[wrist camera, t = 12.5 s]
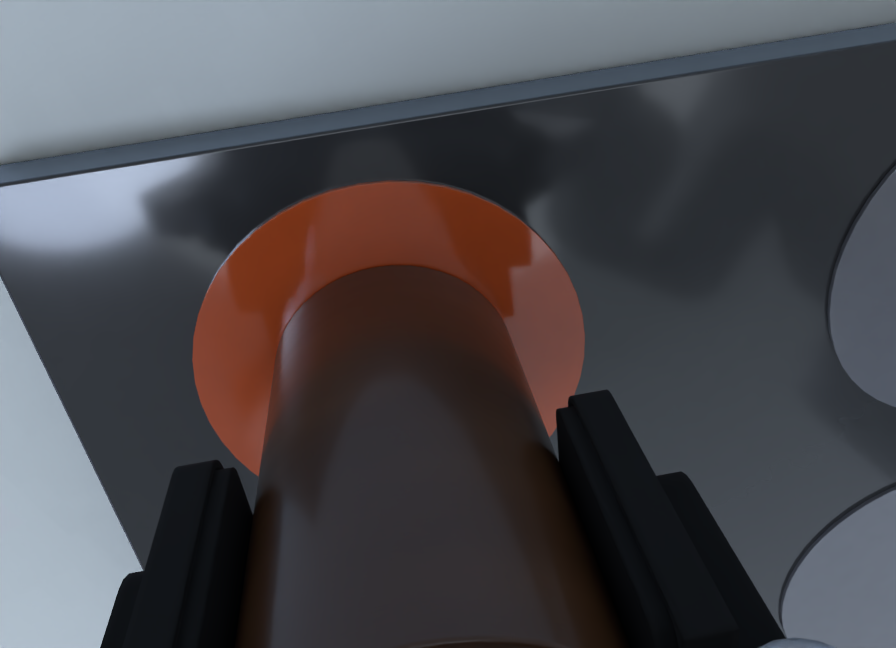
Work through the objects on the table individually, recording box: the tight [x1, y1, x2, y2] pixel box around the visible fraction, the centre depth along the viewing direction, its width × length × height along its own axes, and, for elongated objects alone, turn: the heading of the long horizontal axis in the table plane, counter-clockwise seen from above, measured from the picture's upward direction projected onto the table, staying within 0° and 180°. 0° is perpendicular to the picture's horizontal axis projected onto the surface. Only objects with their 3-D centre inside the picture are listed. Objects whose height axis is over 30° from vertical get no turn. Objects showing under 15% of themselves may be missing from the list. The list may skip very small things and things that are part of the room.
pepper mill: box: [234, 265, 630, 648], centre depth 10 cm, size 4×4×9 cm
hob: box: [0, 23, 896, 648], centre depth 17 cm, size 24×18×1 cm
